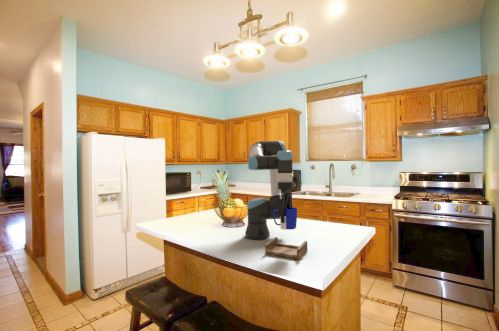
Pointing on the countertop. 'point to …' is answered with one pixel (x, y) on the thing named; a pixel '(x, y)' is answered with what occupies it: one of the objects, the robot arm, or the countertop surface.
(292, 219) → the mug
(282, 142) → the robot arm
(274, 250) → the tray
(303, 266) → the countertop surface
